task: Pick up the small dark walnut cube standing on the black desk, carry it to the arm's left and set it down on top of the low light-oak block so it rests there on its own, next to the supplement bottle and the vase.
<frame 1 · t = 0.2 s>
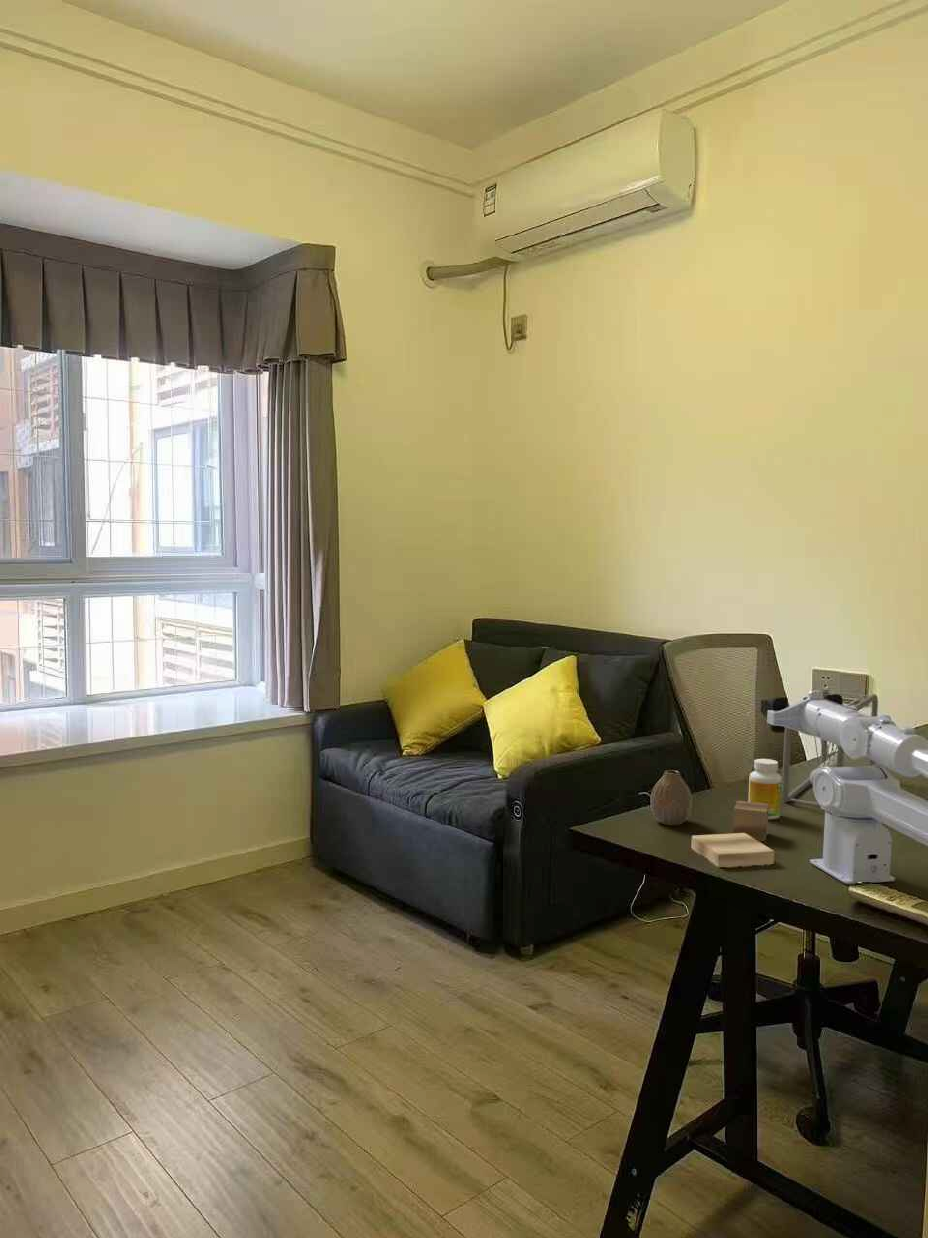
hand: (783, 704, 161), 21 cm above the table, tool horizontal, fingers open, 7 cm apart
newton's cradle: (829, 792, 189), on the table
supplement bottle: (763, 816, 172), on the table
oak block: (731, 859, 150), on the table
vase: (670, 823, 167), on the table
walnut cube: (750, 836, 161), on the table
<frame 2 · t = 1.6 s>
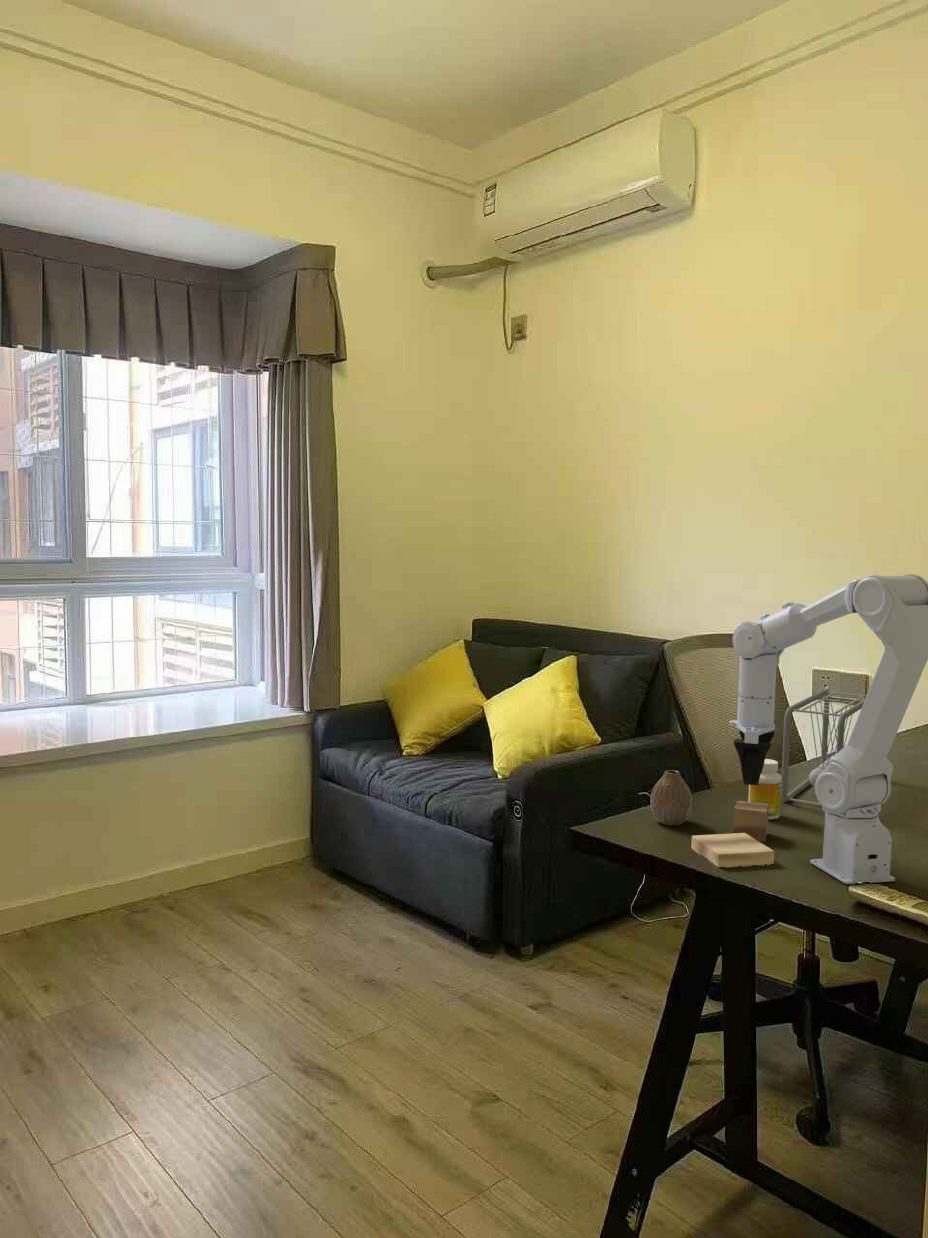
hand: (752, 778, 160), 9 cm above the table, tool pointing down, fingers open, 7 cm apart
nothing on the table moved.
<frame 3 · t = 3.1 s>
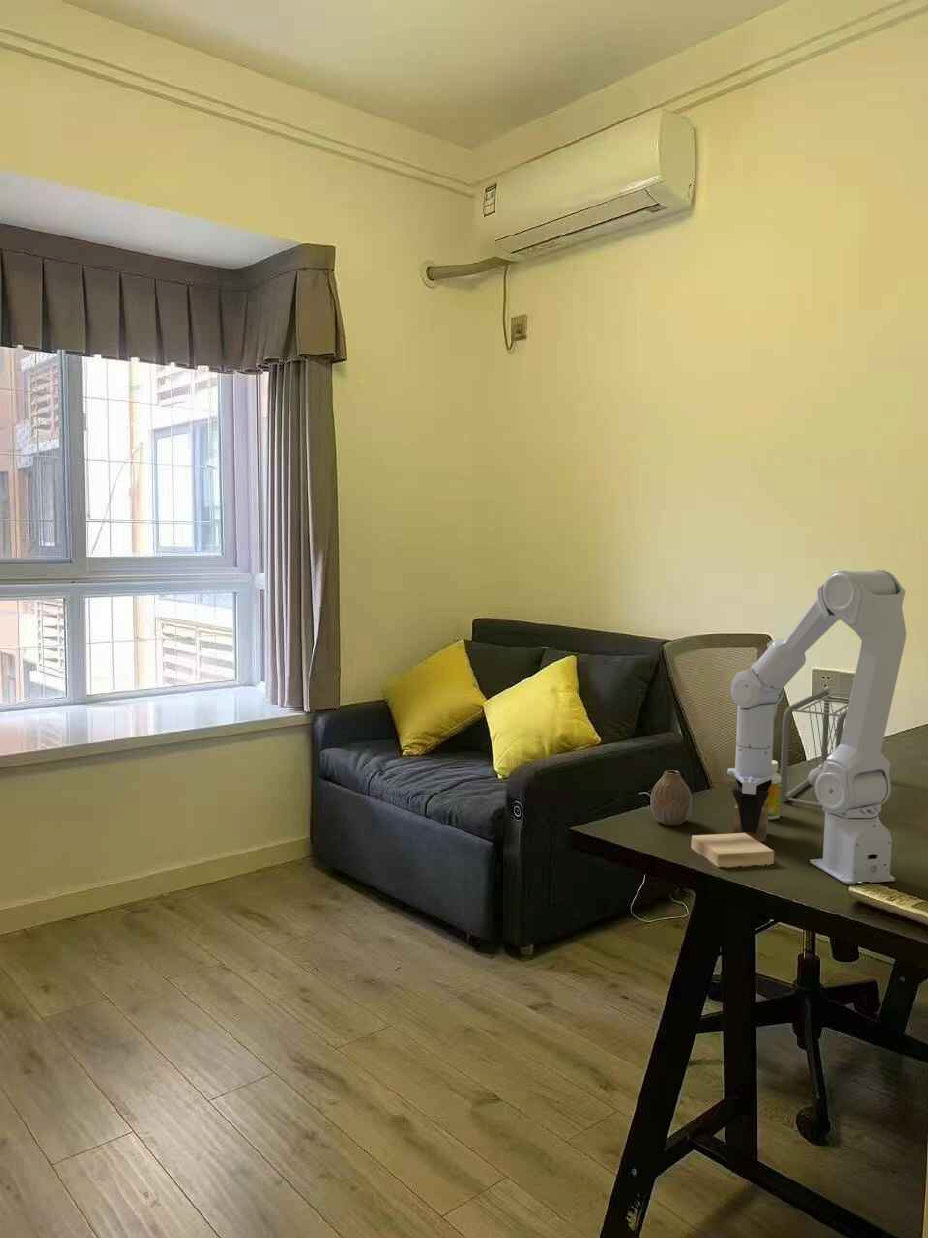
hand: (750, 827, 160), 1 cm above the table, tool pointing down, fingers closed on walnut cube, 5 cm apart
walnut cube: (750, 835, 161), on the table, touching gripper
everything else where it was.
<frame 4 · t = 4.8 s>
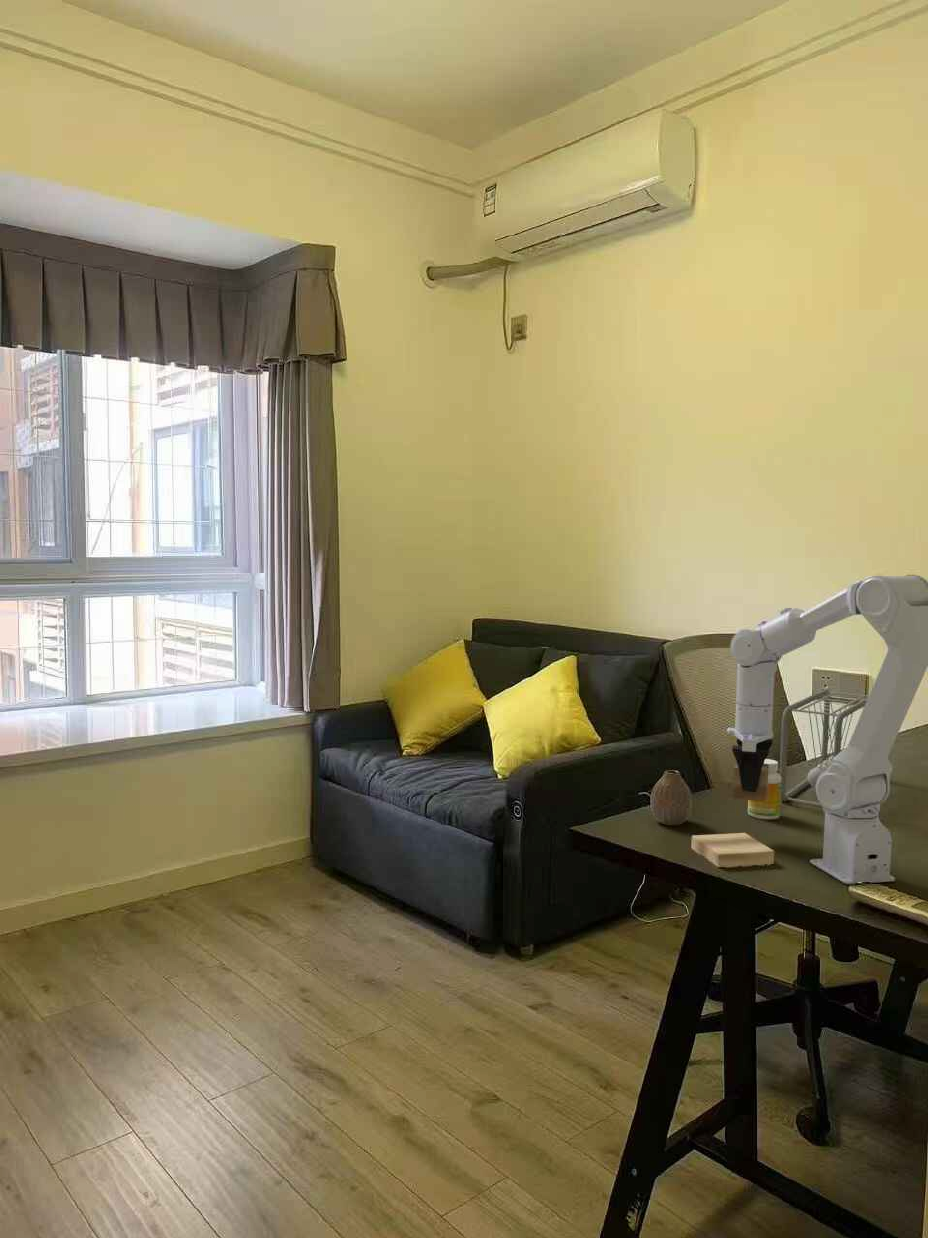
hand: (750, 787, 159), 8 cm above the table, tool pointing down, fingers closed on walnut cube, 5 cm apart
walnut cube: (750, 796, 159), point 7 cm above the table, touching gripper
everything else where it was.
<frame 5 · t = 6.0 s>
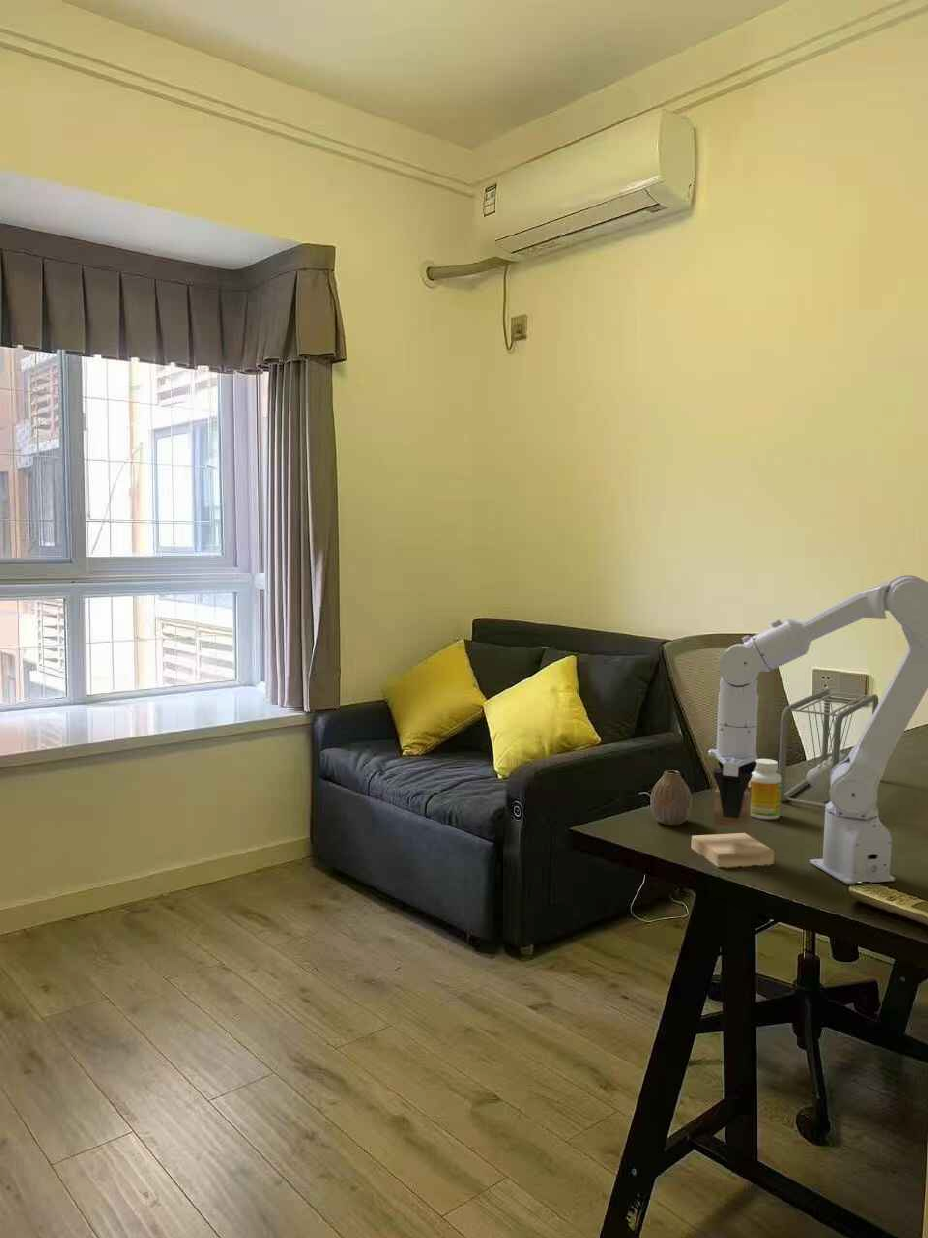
hand: (733, 812, 149), 7 cm above the table, tool pointing down, fingers closed on walnut cube, 5 cm apart
walnut cube: (732, 821, 150), point 5 cm above the table, touching gripper
everything else where it was.
when the fingers open (5 cm above the table, at t = 6.9 s): walnut cube drops 1 cm, resting on oak block.
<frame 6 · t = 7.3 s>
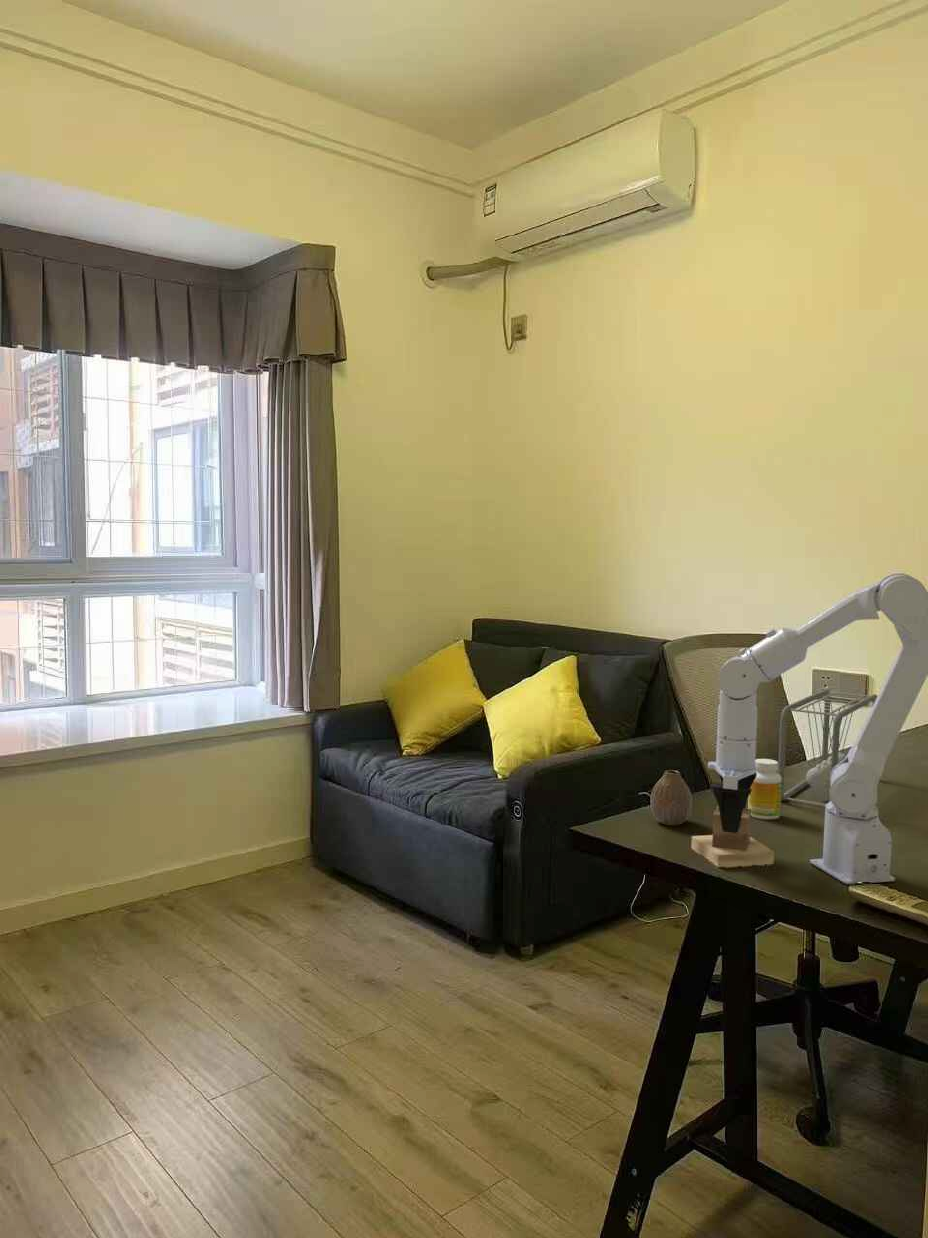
hand: (732, 824, 150), 5 cm above the table, tool pointing down, fingers open, 7 cm apart
oak block: (731, 859, 150), on the table, touching walnut cube
walnut cube: (731, 843, 150), point 2 cm above the table, touching oak block
everything else where it was.
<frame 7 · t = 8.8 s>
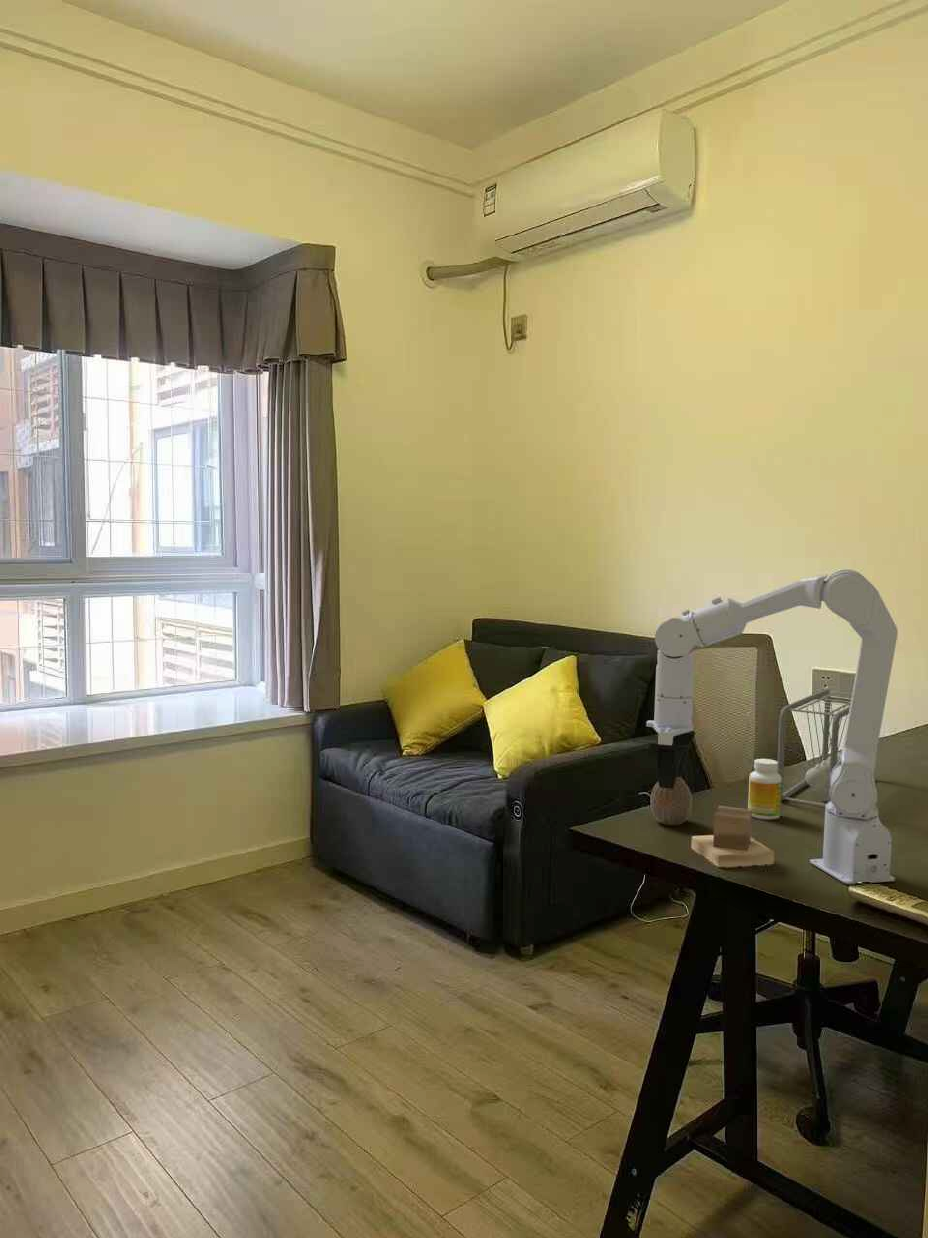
hand: (670, 781, 153), 11 cm above the table, tool pointing down, fingers open, 7 cm apart
nothing on the table moved.
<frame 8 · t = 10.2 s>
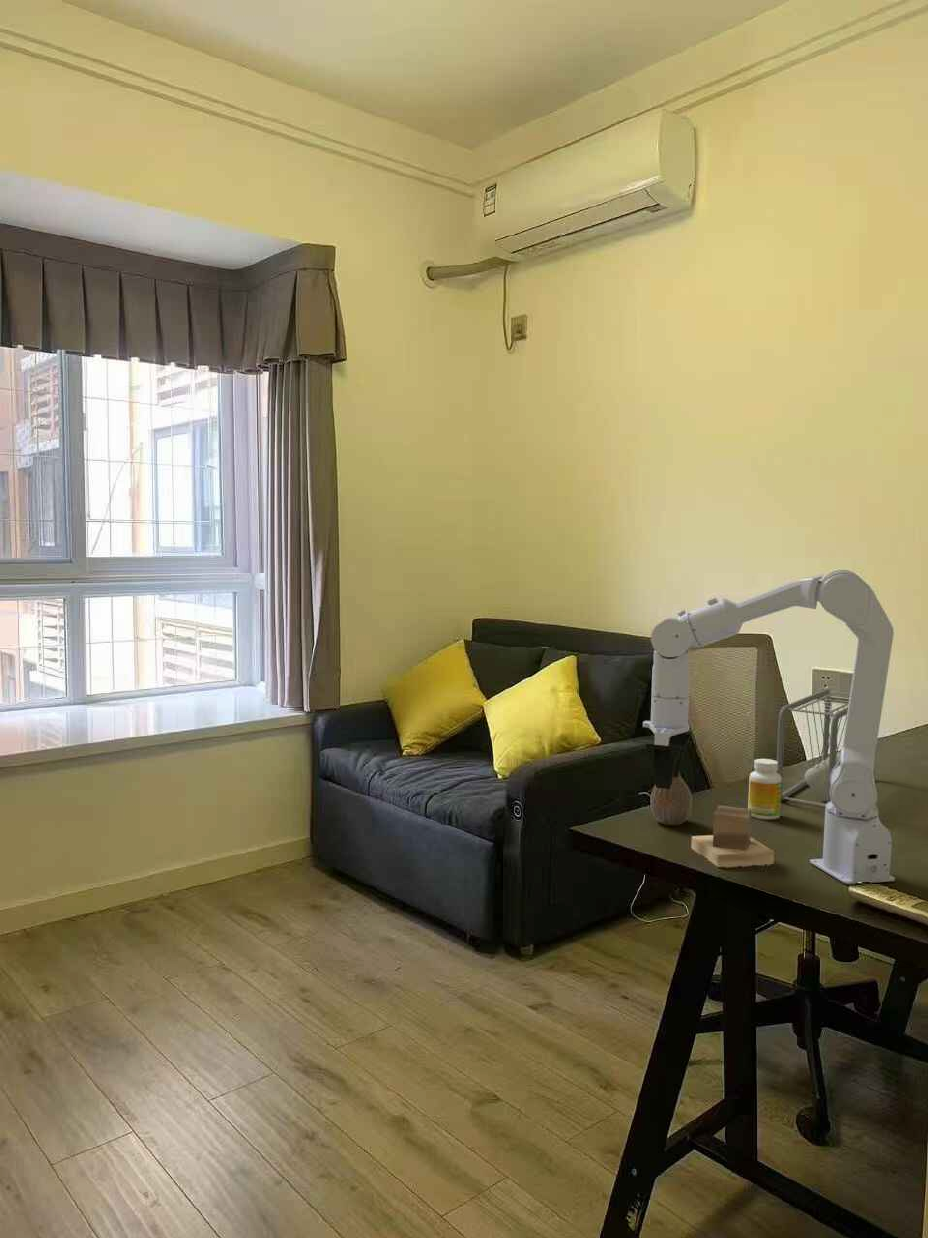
hand: (667, 782, 153), 10 cm above the table, tool pointing down, fingers open, 7 cm apart
oak block: (731, 859, 150), on the table
walnut cube: (731, 843, 150), point 2 cm above the table
everything else where it was.
at the end: walnut cube 0.1 cm off-centre on the oak block, point 2.5 cm above the oak block's base; walnut cube tilted 0°; the gripper is holding nothing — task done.
